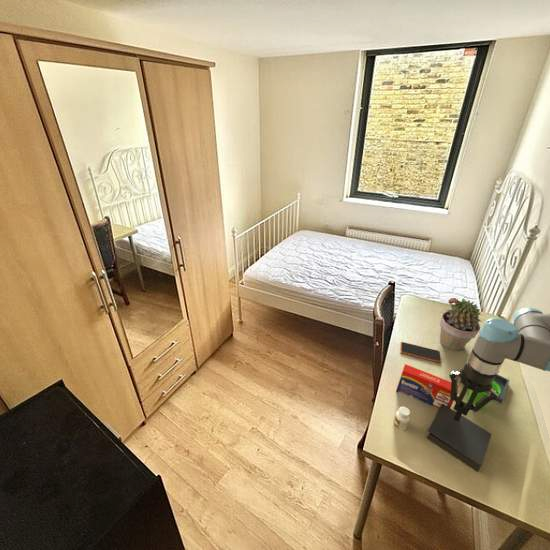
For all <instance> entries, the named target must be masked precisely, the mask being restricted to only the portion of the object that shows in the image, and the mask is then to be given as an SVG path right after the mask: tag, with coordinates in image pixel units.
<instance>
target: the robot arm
mask: <svg viewBox="0 0 550 550" xmlns="http://www.w3.org/2000/svg"><path fill="white" fill-rule="evenodd" d="M505 360H510V361H513V362H517V363H520V364H523V365H526V366H529V367H533V368H536V369H539V370H542V371H543V372H550V313H544V312H543V311H541V310H539V309H538V308H533V307H523V308H520V309H519V310H517V311H516V312H515V313H514V314H513V323H512V322H510V321H507V320H506V319H504V318H499V317H491V318H488V319H487V320H485V321H484V322H483V325H482V327H480V330H479V332H478V334H477V336H476V339H475V342H474V345H473V346H472V349H471V350H470V353H469V354H468V358H467V360H466V362H465V364H464V367H463V369H461V370H459V371H455V370H454V369H451V371H450V373H449V378H450V382H451V400H454V402H455V403H454V406H453V410H454V411H455V412H456V414H455V416H454V418H453V419H454V420H456V421H457V422H458V421H459V419H460V417H461V415H462V416H464V417H465V416H467V415H468V413H469V412H470V411H472V412H473V413H477V412H479V411H481V410H480V409H481V408H482V407H483V406H485V405H486V404H487V403H488V402H490V401H491V400H492V401H494V400H496V399H497V397H498V394H499V393H498V391H494V390H493V389H492V382H493V380H494V378H495V376H496V374H497V373H498V371H499V372H500V369H501V367H502V365H503V363H504V362H505ZM498 374H499V373H498ZM459 379H460V381H462V383H463V384H462V383H461V384H462V385H463V386H462V389H461V391H460V393H459V395H458V393H457V385H458V386H459V384H458V382H459ZM470 390H472V391H473V392H472V394H471V396H470V398H469V400H468V399H467V400H468V401H467V402H465V401H463V400H464V398H465V396H466V394H467V392H468V391H470ZM486 391H488V393H487V394H486V395H485V396H484V397H482V398H481V399H480V400H479V401H478V402H476V403H475V404H473V402H474V400H475V398H476V396H477V394H478V393H481V392H486ZM492 401H491V402H492ZM491 402H490V403H491Z"/></svg>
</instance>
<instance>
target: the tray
mask: <svg viewBox="0 0 550 550" xmlns="http://www.w3.org/2000/svg"><path fill="white" fill-rule="evenodd" d="M493 381H495V382H496V383H497V384H498V385H499V387H500V389H501V393H500V394H499V395H498V397H497V399H496V400H493V401H495V402H497V403H498V404H502V403H503V402H504V400H505V397H506V393H507V390H508V387H509V383H510V379H509V378H506V377H504V376H502V375H500V374H499V373H498V374H496V376H495V378H494V380H493ZM459 384H462V385H463V383H462V381H461V380H460V381H459Z"/></svg>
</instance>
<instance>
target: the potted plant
mask: <svg viewBox="0 0 550 550" xmlns="http://www.w3.org/2000/svg"><path fill="white" fill-rule="evenodd" d="M447 301H448V302H447V303H448V304H449V306H450V309H449V308H448V309H447V310H446V309H445V310H446V311H445V312H441V311H440V313H442V314H441V316H440V320H439V327H440V333H439V335H440V336H439V340H440V343H441V345H442V346H443V347H445V348H447V349H449V350H452V351H457V352H458V351H461V350H463V349H464V348H465V347H466V346H467V344H469V342H470V341H472V339H475V338H476V337H477V336H478V334H479V331H480V330H481V325H480V322H481V323H482V324H484V322H483V319H480V318H479V316H480V315H482V314H481V312H480V310H481V309H480V308H479V306H478V304H477V303H475V301H471V300H470V299H469V300H468V301H467V299H465V298H462V299H461V301H460V298H456V297H452V298H449V300H447Z"/></svg>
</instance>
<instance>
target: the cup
mask: <svg viewBox="0 0 550 550" xmlns="http://www.w3.org/2000/svg"><path fill="white" fill-rule="evenodd" d="M492 389H493V390H494V391H498V393H499V394H500V393H501V389H500V387H499V385H498V384H497V383H496V382H495V381H493V382H492ZM468 391H469V392H468V396H467V399H466V400H467V402H468V400H469V398H470V396H471V394H472V392H473V391H472V390H470V389H469V390H468ZM487 393H488V391H486V392H481V393H478V394H477V396H476V398H475V400H474V402H473V404H475V403H476V402H478V401H479V400H480V399H481V398H482V397H484V396H485V395H486V394H487ZM499 394H498V395H499ZM492 401H493V400H491V401H490V402H488V403H487V404H486V405H485V406H483V407H482V408H481V409H480V410H479V411H482V410H483V409H485V408H486V407H487V406H488V405H489V404H490V403H491V402H492Z"/></svg>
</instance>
